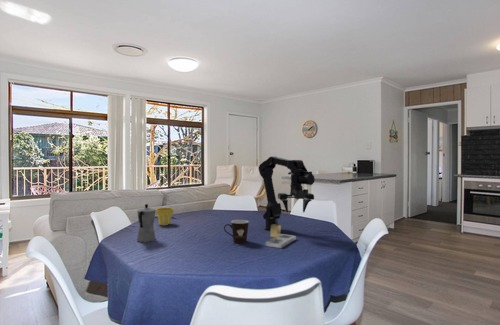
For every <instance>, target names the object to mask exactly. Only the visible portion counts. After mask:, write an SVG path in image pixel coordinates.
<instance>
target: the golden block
mask: <svg viewBox="0 0 500 325" xmlns="http://www.w3.org/2000/svg"><path fill="white" fill-rule="evenodd" d="M281 228H282V226H281V224H278V225H277V224H273V225H271V230H270V238H274V237H276V236H278V235H280V234H282V233H281V231H282V230H281Z"/></svg>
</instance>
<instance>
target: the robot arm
mask: <svg viewBox="0 0 500 325" xmlns="http://www.w3.org/2000/svg"><path fill="white" fill-rule="evenodd" d="M277 165H278V166H282V167H286V168H287V169H288V170H289V171H288V173H287V174H288V175H290V185H289V186H290V192H289V194H287V193H286V192H279V193H278V194H277V197H276V192H275V189H274V187H275V186H274V182H273V174H274V169H276V166H277ZM258 172H259V175H260V177H262V179H263V184H264V189H265V194H266V200H267V204H266V208H265V209H266V211H265V213H264V214H263V215H262V217H263V220H265V228H264V230H265V231H271V225H273V224H277V225H279V222H278V219H280V217H281V215H282V210H283V208H282V207H281V206H282V205H281V203H278V201H277V199H278V200H280V201H281V202H282V203H283V206H284V208H285V212H286V213H288V212H289V208H288V207H289V204H288V202H289V200H288V199H296V200H299V199H300V200H302V212H303V213H305V212H306V209H307V207H308V205H309V203H310V202H312V200H313V201H314V200H315V195H314V193H311V192H309V190H308V189H306V188H304V189H303V185H306V186H307V185H308V186H312V185H314V183H315V180H316V179H315V176H314V174H313V171H308V170H307V168H306V166H305V163H304V161H303V160H301V159H287V158H282V157H277V156H270V157H268V158H267V159H265V160H264V161H262V162H261V163H260V164H259V165H258Z"/></svg>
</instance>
